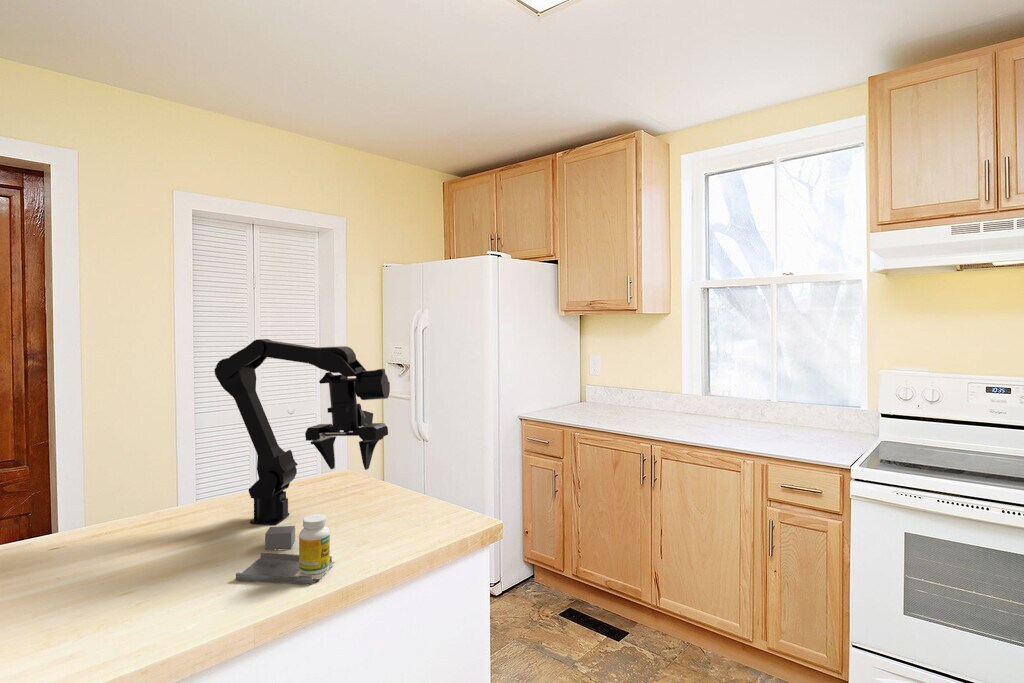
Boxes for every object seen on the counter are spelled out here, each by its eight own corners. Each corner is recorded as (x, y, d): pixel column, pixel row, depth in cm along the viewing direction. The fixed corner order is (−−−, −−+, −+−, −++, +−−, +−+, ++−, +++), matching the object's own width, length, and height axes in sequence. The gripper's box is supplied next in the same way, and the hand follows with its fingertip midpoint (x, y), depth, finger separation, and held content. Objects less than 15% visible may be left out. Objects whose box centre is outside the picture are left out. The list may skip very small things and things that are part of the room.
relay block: (265, 551, 113) (265, 534, 113) (269, 543, 117) (269, 526, 116) (291, 549, 114) (291, 532, 113) (295, 542, 118) (295, 525, 117)
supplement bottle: (304, 562, 106) (305, 512, 106) (333, 562, 106) (333, 513, 106) (294, 575, 101) (294, 523, 100) (324, 575, 101) (324, 523, 100)
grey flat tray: (235, 580, 100) (235, 573, 100) (261, 559, 109) (261, 552, 109) (317, 584, 99) (317, 578, 99) (336, 562, 108) (336, 556, 108)
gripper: (397, 395, 132) (403, 460, 132) (331, 397, 138) (336, 459, 138) (371, 402, 121) (377, 473, 122) (300, 404, 127) (306, 472, 128)
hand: (349, 469), depth 128 cm, fingers open, 9 cm apart
